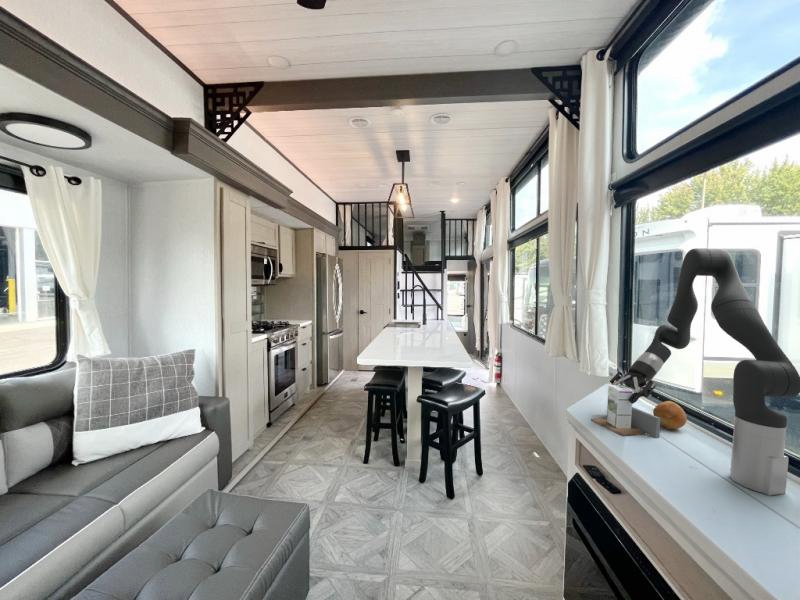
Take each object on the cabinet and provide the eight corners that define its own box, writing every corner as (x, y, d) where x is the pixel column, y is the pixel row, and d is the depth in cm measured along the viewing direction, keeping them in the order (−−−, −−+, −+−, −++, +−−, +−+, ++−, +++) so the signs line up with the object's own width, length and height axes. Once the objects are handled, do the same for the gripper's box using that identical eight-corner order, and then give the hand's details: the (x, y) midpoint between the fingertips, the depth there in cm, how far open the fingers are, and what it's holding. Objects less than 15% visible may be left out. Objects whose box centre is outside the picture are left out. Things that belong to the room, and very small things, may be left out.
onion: (647, 421, 129) (649, 396, 129) (677, 424, 127) (679, 399, 126) (659, 431, 120) (661, 404, 120) (691, 435, 117) (694, 408, 117)
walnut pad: (645, 434, 116) (645, 432, 116) (623, 436, 114) (623, 434, 114) (611, 418, 130) (611, 417, 130) (590, 420, 128) (590, 418, 128)
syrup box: (631, 429, 119) (634, 389, 119) (615, 428, 119) (618, 389, 118) (620, 422, 125) (623, 385, 124) (605, 422, 125) (607, 384, 124)
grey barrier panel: (659, 437, 114) (660, 418, 114) (655, 438, 114) (657, 418, 113) (609, 415, 134) (610, 398, 133) (606, 415, 133) (607, 398, 133)
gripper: (624, 356, 130) (598, 385, 128) (660, 364, 116) (632, 397, 114) (633, 369, 132) (608, 398, 129) (670, 378, 118) (643, 411, 116)
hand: (619, 397), depth 122 cm, fingers open, 8 cm apart
